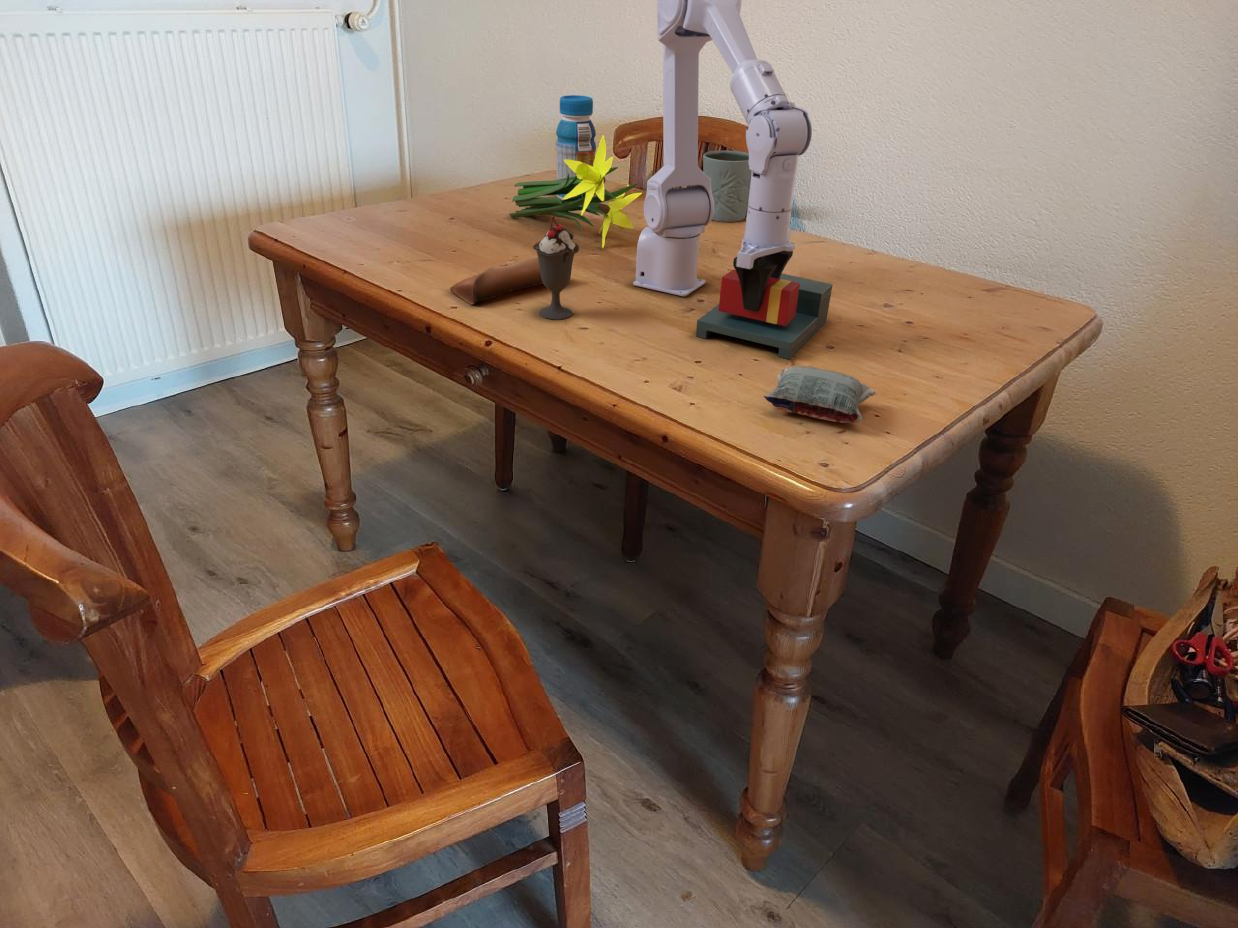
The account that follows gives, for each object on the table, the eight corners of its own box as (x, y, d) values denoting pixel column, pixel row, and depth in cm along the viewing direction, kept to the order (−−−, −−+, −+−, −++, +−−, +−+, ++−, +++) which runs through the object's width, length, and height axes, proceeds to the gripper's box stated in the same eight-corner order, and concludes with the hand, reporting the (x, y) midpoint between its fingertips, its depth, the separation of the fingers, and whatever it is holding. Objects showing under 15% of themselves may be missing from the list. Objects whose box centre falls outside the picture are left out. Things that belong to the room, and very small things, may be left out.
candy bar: (718, 311, 123) (721, 276, 120) (729, 302, 126) (733, 269, 123) (785, 326, 119) (790, 291, 116) (795, 317, 122) (800, 282, 119)
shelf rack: (695, 336, 124) (699, 296, 121) (739, 303, 136) (743, 265, 133) (789, 359, 118) (795, 318, 115) (826, 322, 130) (832, 284, 127)
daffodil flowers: (566, 210, 181) (681, 201, 154) (523, 259, 176) (634, 258, 150) (518, 142, 171) (632, 119, 144) (471, 192, 166) (580, 178, 140)
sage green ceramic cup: (750, 224, 174) (757, 162, 167) (699, 222, 174) (705, 159, 167) (745, 210, 182) (751, 151, 176) (696, 208, 182) (701, 149, 176)
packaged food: (779, 385, 111) (784, 350, 108) (873, 406, 107) (881, 369, 104) (760, 415, 104) (764, 377, 101) (859, 438, 100) (867, 400, 97)
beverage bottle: (551, 201, 183) (551, 99, 173) (560, 191, 190) (560, 93, 180) (590, 204, 182) (592, 102, 172) (598, 194, 189) (600, 95, 179)
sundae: (544, 325, 125) (543, 221, 117) (526, 309, 130) (524, 208, 123) (585, 318, 128) (587, 216, 120) (566, 303, 133) (567, 204, 125)
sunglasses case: (538, 266, 145) (550, 237, 140) (560, 297, 144) (574, 269, 138) (445, 288, 135) (455, 258, 130) (468, 322, 133) (479, 293, 128)
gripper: (778, 224, 107) (765, 327, 115) (816, 200, 118) (802, 295, 125) (726, 215, 110) (716, 316, 117) (768, 192, 121) (756, 285, 128)
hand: (757, 305), depth 122 cm, fingers closed on candy bar, 4 cm apart
